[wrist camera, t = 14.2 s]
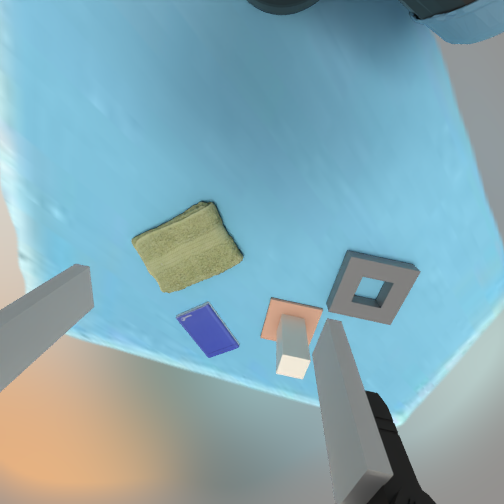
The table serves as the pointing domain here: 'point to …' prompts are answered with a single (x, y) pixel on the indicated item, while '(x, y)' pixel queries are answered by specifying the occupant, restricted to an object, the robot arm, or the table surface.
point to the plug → (292, 347)
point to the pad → (293, 309)
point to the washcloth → (188, 248)
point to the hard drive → (208, 330)
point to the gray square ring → (363, 265)
